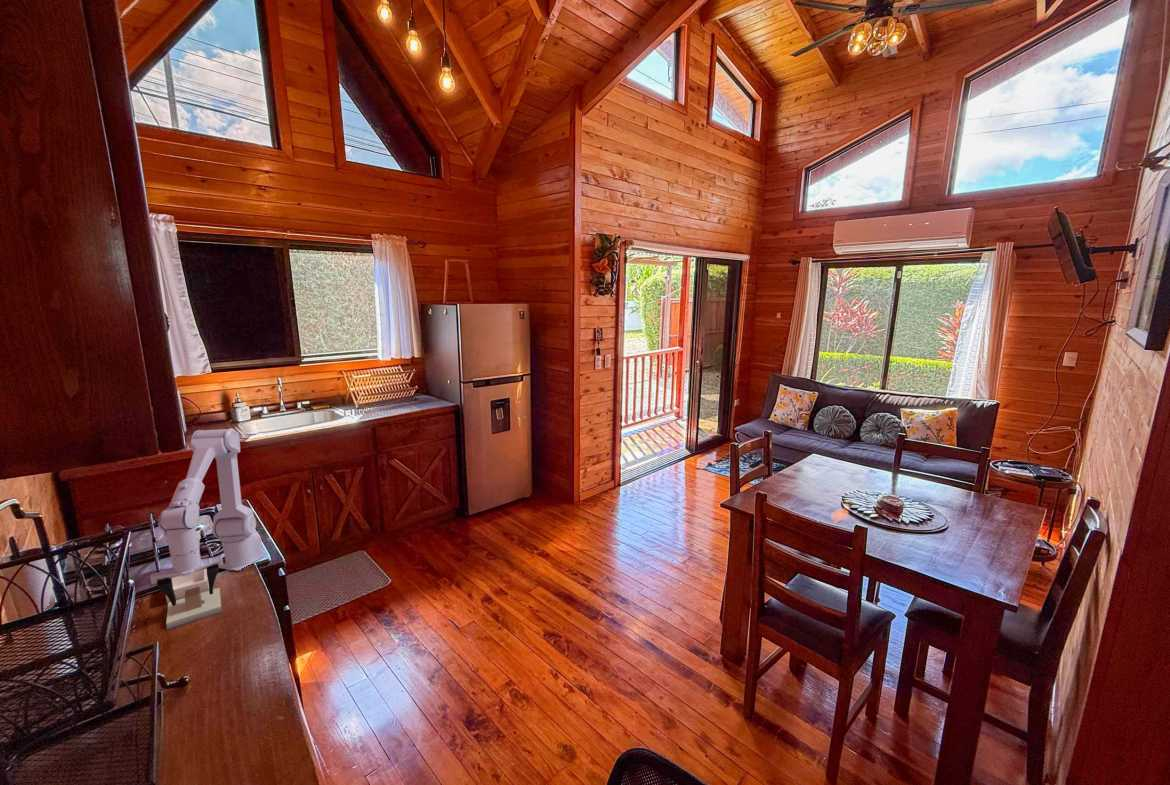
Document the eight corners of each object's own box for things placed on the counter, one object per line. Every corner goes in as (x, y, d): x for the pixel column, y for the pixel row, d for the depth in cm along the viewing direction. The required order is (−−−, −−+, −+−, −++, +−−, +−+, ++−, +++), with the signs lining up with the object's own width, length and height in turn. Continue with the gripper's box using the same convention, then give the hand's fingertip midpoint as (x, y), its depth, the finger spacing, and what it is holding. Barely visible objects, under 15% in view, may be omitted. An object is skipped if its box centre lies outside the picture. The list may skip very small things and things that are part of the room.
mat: (169, 605, 130) (169, 603, 130) (220, 590, 137) (219, 588, 136) (166, 630, 120) (166, 628, 120) (221, 612, 126) (221, 611, 126)
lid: (168, 605, 129) (166, 590, 128) (219, 590, 136) (217, 576, 135) (166, 626, 121) (163, 611, 120) (221, 609, 127) (218, 594, 127)
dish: (169, 589, 137) (166, 578, 137) (208, 577, 143) (206, 567, 142) (167, 604, 130) (165, 592, 130) (209, 591, 136) (207, 580, 135)
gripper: (146, 566, 118) (155, 616, 120) (219, 547, 126) (227, 594, 129) (148, 555, 123) (157, 603, 126) (219, 537, 132) (226, 582, 134)
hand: (193, 598), depth 128 cm, fingers open, 7 cm apart
